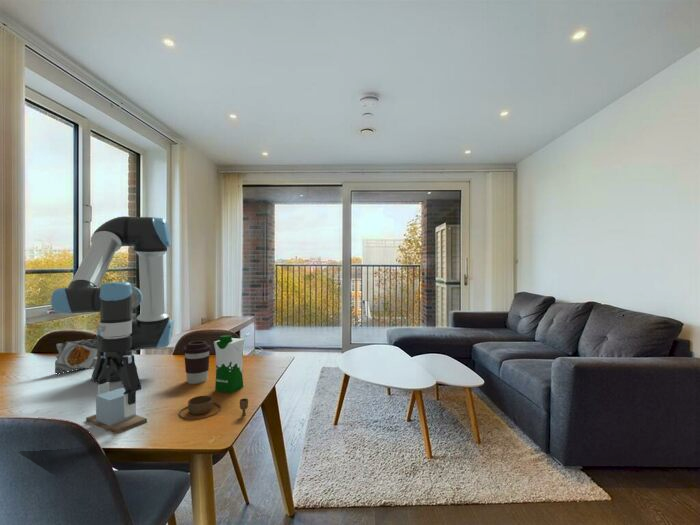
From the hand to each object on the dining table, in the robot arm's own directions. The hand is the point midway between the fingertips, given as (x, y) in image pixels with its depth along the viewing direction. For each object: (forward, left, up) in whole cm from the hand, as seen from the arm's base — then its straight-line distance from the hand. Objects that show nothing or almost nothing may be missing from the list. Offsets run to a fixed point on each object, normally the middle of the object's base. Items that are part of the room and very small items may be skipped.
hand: (116, 410), depth 99 cm
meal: (-66, +19, -4) cm, 69 cm away
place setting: (+19, +16, -5) cm, 25 cm away
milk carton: (+7, +35, -4) cm, 36 cm away
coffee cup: (-11, +35, -4) cm, 37 cm away
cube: (0, 0, -2) cm, 2 cm away
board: (0, 0, -4) cm, 4 cm away
